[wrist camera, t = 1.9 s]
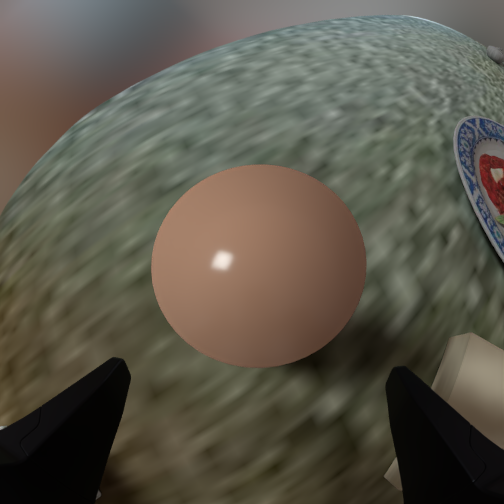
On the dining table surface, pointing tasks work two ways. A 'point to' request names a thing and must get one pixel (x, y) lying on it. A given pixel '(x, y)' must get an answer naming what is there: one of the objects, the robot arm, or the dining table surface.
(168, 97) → the dining table surface
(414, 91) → the dining table surface
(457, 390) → the base block
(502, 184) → the ceramic plate
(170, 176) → the dining table surface
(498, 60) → the garlic
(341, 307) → the jar
